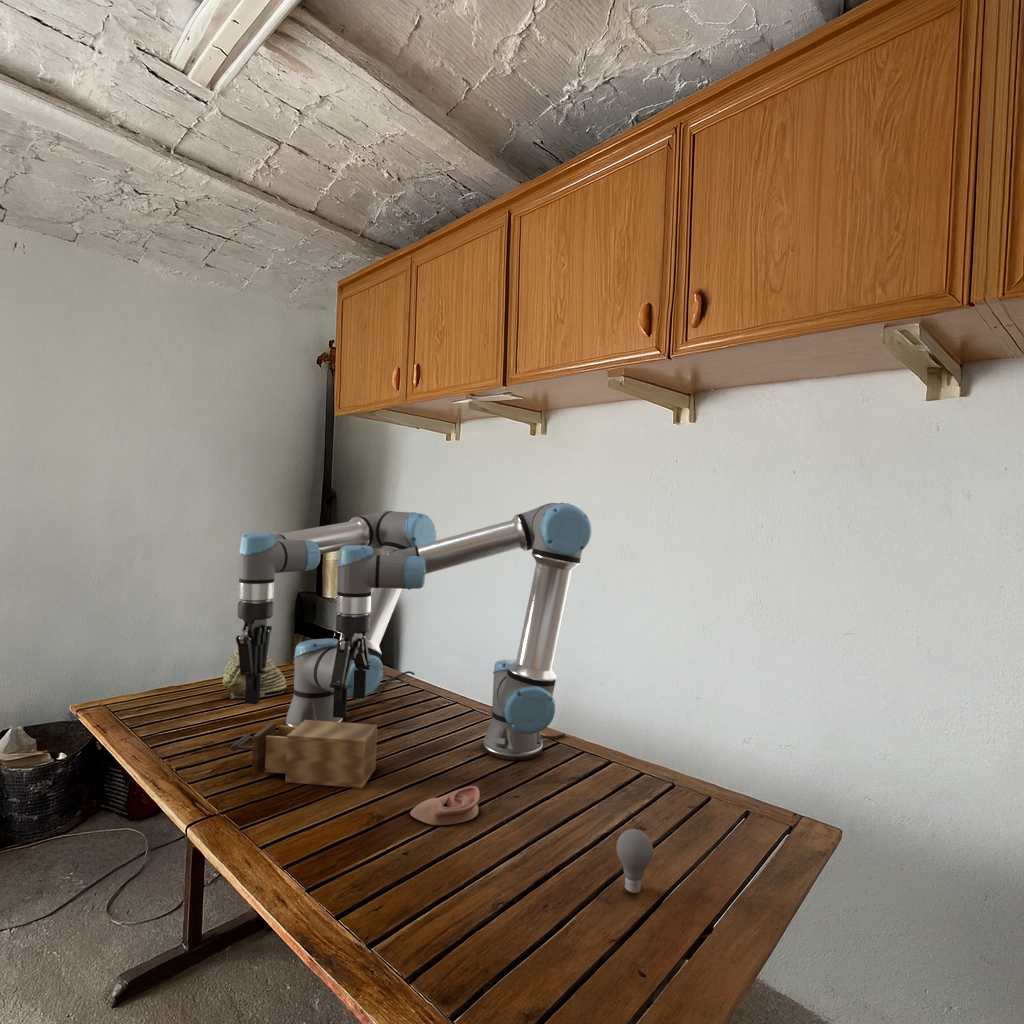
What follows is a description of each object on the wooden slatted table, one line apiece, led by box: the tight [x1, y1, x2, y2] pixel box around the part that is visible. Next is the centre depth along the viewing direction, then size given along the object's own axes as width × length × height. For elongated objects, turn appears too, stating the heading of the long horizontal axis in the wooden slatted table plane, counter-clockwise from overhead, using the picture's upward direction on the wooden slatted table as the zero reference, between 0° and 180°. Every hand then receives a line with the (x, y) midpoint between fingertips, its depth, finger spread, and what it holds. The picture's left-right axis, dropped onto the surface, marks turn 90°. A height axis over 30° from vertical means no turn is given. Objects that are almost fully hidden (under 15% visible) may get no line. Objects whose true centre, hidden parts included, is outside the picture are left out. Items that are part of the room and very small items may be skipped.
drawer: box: [230, 721, 297, 775], centre depth 145 cm, size 22×9×9 cm, turn 86°
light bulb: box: [615, 828, 654, 894], centre depth 106 cm, size 6×6×10 cm
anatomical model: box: [409, 785, 481, 826], centre depth 129 cm, size 13×4×12 cm
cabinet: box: [285, 720, 378, 789], centre depth 144 cm, size 17×10×10 cm, turn 86°
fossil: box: [222, 647, 288, 699], centre depth 198 cm, size 9×18×15 cm, turn 132°
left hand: (252, 702), depth 145 cm, fingers closed
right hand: (349, 707), depth 144 cm, fingers open, 13 cm apart
